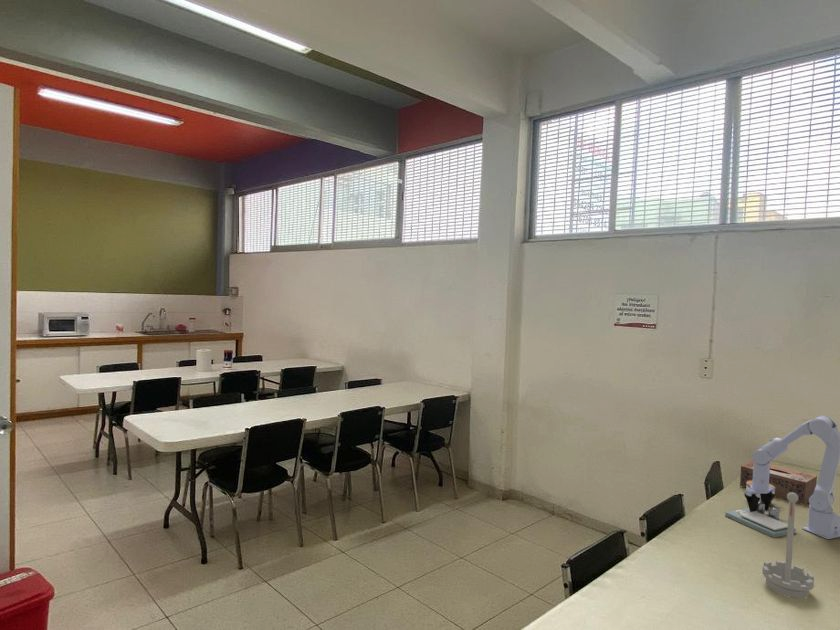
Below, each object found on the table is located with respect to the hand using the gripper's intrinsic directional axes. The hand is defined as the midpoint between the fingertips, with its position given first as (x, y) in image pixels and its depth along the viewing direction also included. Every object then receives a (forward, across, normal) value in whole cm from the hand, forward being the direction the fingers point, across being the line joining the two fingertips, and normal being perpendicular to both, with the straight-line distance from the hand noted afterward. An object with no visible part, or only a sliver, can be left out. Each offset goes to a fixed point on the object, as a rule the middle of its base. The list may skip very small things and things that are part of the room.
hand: (758, 510), depth 218 cm
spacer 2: (+2, 0, +6) cm, 6 cm away
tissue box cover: (+2, -33, -15) cm, 36 cm away
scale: (+2, +9, +7) cm, 11 cm away
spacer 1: (+2, 0, 0) cm, 2 cm away
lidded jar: (+2, -13, -9) cm, 16 cm away
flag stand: (+2, +45, +41) cm, 61 cm away
